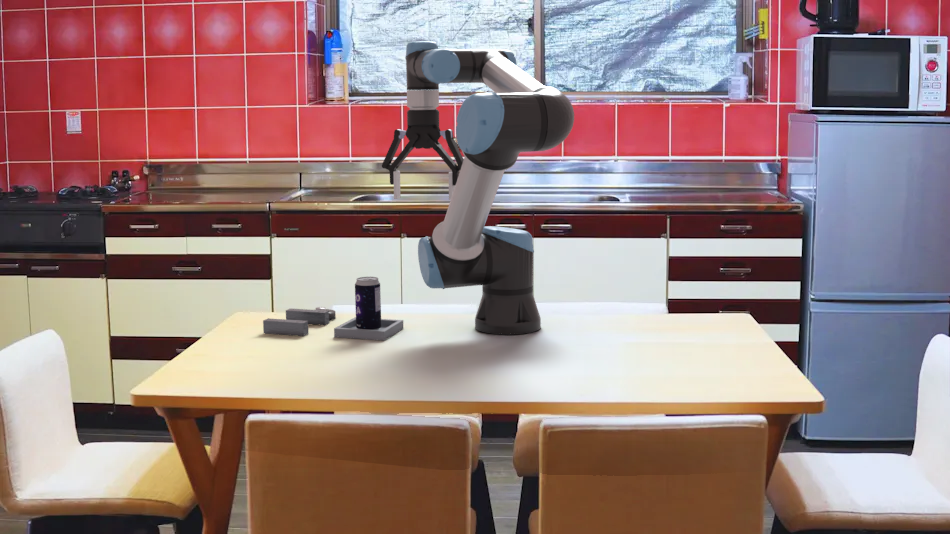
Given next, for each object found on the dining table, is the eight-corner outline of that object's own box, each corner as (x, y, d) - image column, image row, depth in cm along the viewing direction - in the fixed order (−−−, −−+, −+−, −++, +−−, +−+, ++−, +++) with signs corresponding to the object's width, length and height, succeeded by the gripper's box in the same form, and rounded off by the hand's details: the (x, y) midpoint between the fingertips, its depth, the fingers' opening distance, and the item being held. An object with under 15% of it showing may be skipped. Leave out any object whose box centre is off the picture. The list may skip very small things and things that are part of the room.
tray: (403, 328, 254) (403, 320, 253) (384, 340, 242) (384, 331, 242) (355, 325, 257) (355, 317, 257) (334, 337, 246) (334, 328, 245)
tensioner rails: (342, 316, 267) (341, 304, 266) (303, 336, 247) (303, 323, 246) (304, 314, 270) (304, 302, 269) (263, 333, 250) (263, 320, 249)
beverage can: (368, 326, 253) (367, 275, 251) (386, 330, 250) (385, 278, 248) (351, 331, 249) (349, 279, 247) (368, 334, 246) (367, 281, 244)
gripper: (478, 108, 259) (479, 198, 262) (378, 108, 265) (380, 196, 268) (470, 109, 251) (471, 201, 255) (367, 109, 258) (369, 199, 261)
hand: (424, 199), depth 262 cm, fingers open, 13 cm apart
